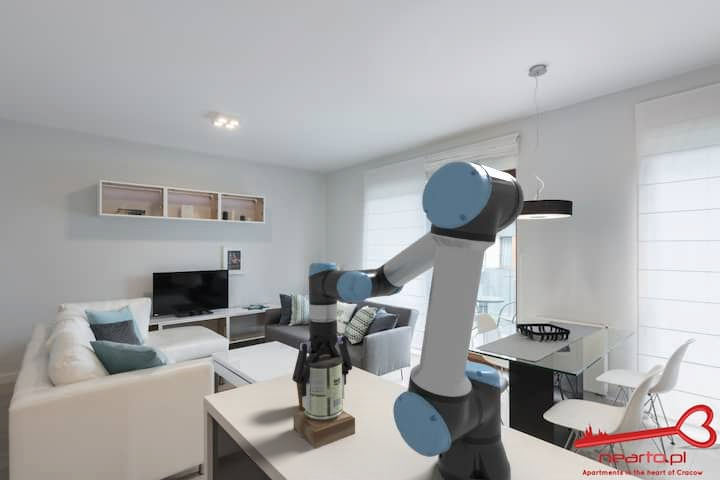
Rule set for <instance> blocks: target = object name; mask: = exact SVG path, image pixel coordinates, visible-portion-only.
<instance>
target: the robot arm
mask: <svg viewBox="0 0 720 480" xmlns="http://www.w3.org/2000/svg"><path fill="white" fill-rule="evenodd" d="M524 195H525V194H524V191H523V189H522V186H521V184H520V183H519V182H518V180H517V179H516V178H515V177H514V176H512V175H511V174H509V173H507V172H505V171H502V170H496V169H494V168H491V167H487V166H485V165H482V164H481V163H477V162H472V161H471V162H470V161H462V160H460V161H459V160H458V161H452V162H448V163H446V164H444V165H442V166H441V167H439V169H437V170H436V171H435V172H433V174H432V175H431V176H430V177H429V179H428V180H427V182H426V183H425V186H424V188H423V191H422V198H421V205H422V209H423V212H424V213H425V216H426V218H427V220H428V221H429V222H430V223H431V224H430V230H429V231H428V232H427V233H425V234H424V235H423V236H421V237H419V238H418V239H417V240H415V241H414V242H413V243H411V244H409V246H408V247H406V248H405V249H403V250H402V251H400V252H398V253H397V254H396V255H395V256H393V257H392V258H391V259H389V260H388V261H386V262H385V263H383V264H382V265H381V266H379V267H378V268H371V269H370V268H369V269H356V270H338V268H337V263H336V262H334V261H322V262H321V261H317V262H311V263H310V265H309V266H308V268H309V270H308V271H309V272H308V277H307V278H308V279H307V280H308V301H309V304H308V305H309V306H308V308H309V309H308V311H309V313H308V314H309V315H308V318H309V319H310V320H309V322H308V323H309V325H308V326H309V327H308V329H309V331H308V332H309V339H308V341H306V342H301V341H300V342H299V343H298V354H297V358H296V362H295V366H294V371H293V374H292V379H291V380H292V381H293V382H295V383H296V384H297V383H298V384H300V395H301V396H302V406H303V407H304V408H305V409H307V410H309V409H310V384H309V383H308V382H307V381H308V379H309V377H310V367H307V366H306V365H305V362H306V357H307V356H309V358H308V360H307V361H309V362H311V363H315V362H316V361H317V359H319V357H320V356H321V355H324V354H330V355H331V356H332V357H335V358H337V357H339V355H340V356H342V400H344V399H345V386H346V384H347V375H348V374H349V372H350V371H352V370H353V365H352V360H351V357H350V354H349V353H350V351H349V349H348V345H347V342H348V341H347V340H348V338H347V336H345V335H341V334H340V335H337V333H338V320H337V317H338V301H343V302H344V301H345V302H348V303H363V302H364V301H365V300H368V299H373V298H379V297H390V296H393V295H397V294H399V293H400V292H401V291H402V290H403V288H404V286H405V285H406V284H408V283H409V282H412V281H413V280H414V279H416V278H418V277H419V276H420V275H423V273H426V272H427V271H428V270H430V269H432V268H433V269H432V275H431V276H432V277H431V283H430V287H429V288H430V289H429V295H428V296H429V297H428V304H427V311H426V316H425V317H426V319H425V324H424V332H423V337H422V338H423V340H422V346H421V351H420V352H421V353H420V359H419V363H418V364H416V365H414V367H412V369H411V370H410V373H409V379H408V387H407V390H406V391H403V392H402V393H400V394H399V395H398V396H397V398H396V399H395V401H394V404H393V409H392V410H393V419H394V423H395V425H396V429H397V430H398V432H399V433H400V434H399V435H400V436H401V438H402V440H403V441H404V443H406V445H407V446H408V447H409V448H410V449H411V450H413V451H414V452H415V453H417V454H419V455H420V456H423V457H430V458H431V457H436V456H437V463H438V464H437V466H438V467H437V468H438V471H439V473H440V476H442V477H443V479H444V480H512V474H511V471H512V470H511V468H512V467H511V463H510V461H509V459H508V457H507V452H506V450H505V449H506V448H505V447H504V443H503V440H502V409H501V408H502V407H501V406H502V405H501V403H502V401H501V400H502V399H501V398H502V397H501V395H502V394H501V393H502V392H501V389H502V385H501V379H500V378H501V377H500V373H499V372H498V371H497V370H496V368H494V367H492V366H490V365H487V364H483V363H479V362H474V361H468V356H469V351H470V343H471V340H472V332H473V326H474V321H475V313H476V308H477V301H478V295H479V289H480V288H479V287H480V284H481V283H480V282H481V276H482V271H483V264H484V257H485V252H486V251H487V250H488V249H489V248H490V247H492V246H494V245H495V244H496V240H497V234H498V233H501V232H502V231H503V230H505V229H507V228H509V226H511V225H512V224H514V223H515V221H516V220H517V219H518V218H519V216H520V215H521V213H522V210H523V208H524V202H525V196H524ZM336 345H338V350H339V353H340V354H339V353H338V350H337V348H336V347H335V346H336ZM309 350H310V351H309ZM308 351H309V352H308ZM314 354H315V355H314Z"/></svg>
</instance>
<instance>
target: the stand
mask: <svg viewBox="0 0 720 480" xmlns="http://www.w3.org/2000/svg"><path fill="white" fill-rule="evenodd" d="M292 415H293V430H294V431H295V432H297V434H298V435H300V437H302V438H303V439H304V440H306V442H307V443H308V444H310V445H311V446H312V447H313V448H314V449H318V448H321V447H323V446H326V445H329V444H331V443H333V442H337V441H338V440H341V439H344V438H347V437H349V436H352V435H354V434H356V417H355V416H352V415H351V414H349V413H348V412H347V411H345V410H343V411H342V413H341V414H340V415H338V416H336V417H334V418H330V419H313V418H310V417H308V416H307V415H306V414H305V411H300V412H297V413H294V414H292Z"/></svg>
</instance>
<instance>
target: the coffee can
mask: <svg viewBox="0 0 720 480" xmlns="http://www.w3.org/2000/svg"><path fill="white" fill-rule="evenodd" d="M314 355H315V353H314ZM338 355H339V357H337V358H335V357H332V356H331V355H330V354H324V355H321V356H320V357H319V359H317V361H316V362H315V363H311V362H309V361H307V360H308V358H309V355H307V357H306V362H305V365H306V366H307V367H310V377H309V379H308V381H307V382H308V383H309V384H310V409H309V410H307V409H305V414H306V415H307V416H308V417H310V418H313V419H330V418H334V417H336V416H338V415H340V414H341V413H342V411H344V407H343V403H344V402H343V399H342V362H343V361H342V356H341V354H338Z"/></svg>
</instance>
